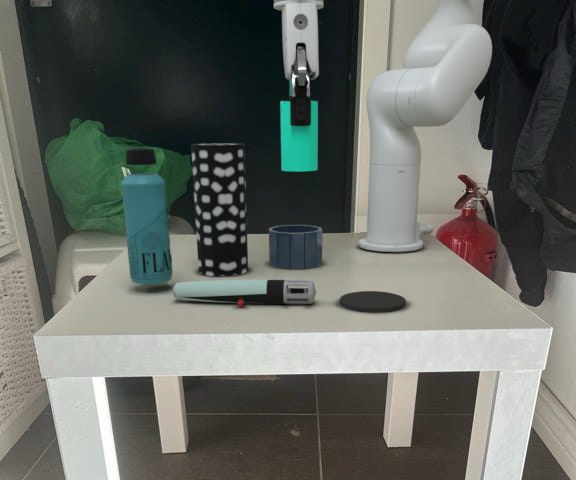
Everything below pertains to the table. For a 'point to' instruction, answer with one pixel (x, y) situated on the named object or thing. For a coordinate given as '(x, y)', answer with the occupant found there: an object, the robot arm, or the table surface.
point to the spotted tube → (220, 208)
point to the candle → (299, 141)
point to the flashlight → (246, 291)
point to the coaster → (372, 301)
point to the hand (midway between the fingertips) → (299, 124)
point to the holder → (295, 246)
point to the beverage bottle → (146, 221)
